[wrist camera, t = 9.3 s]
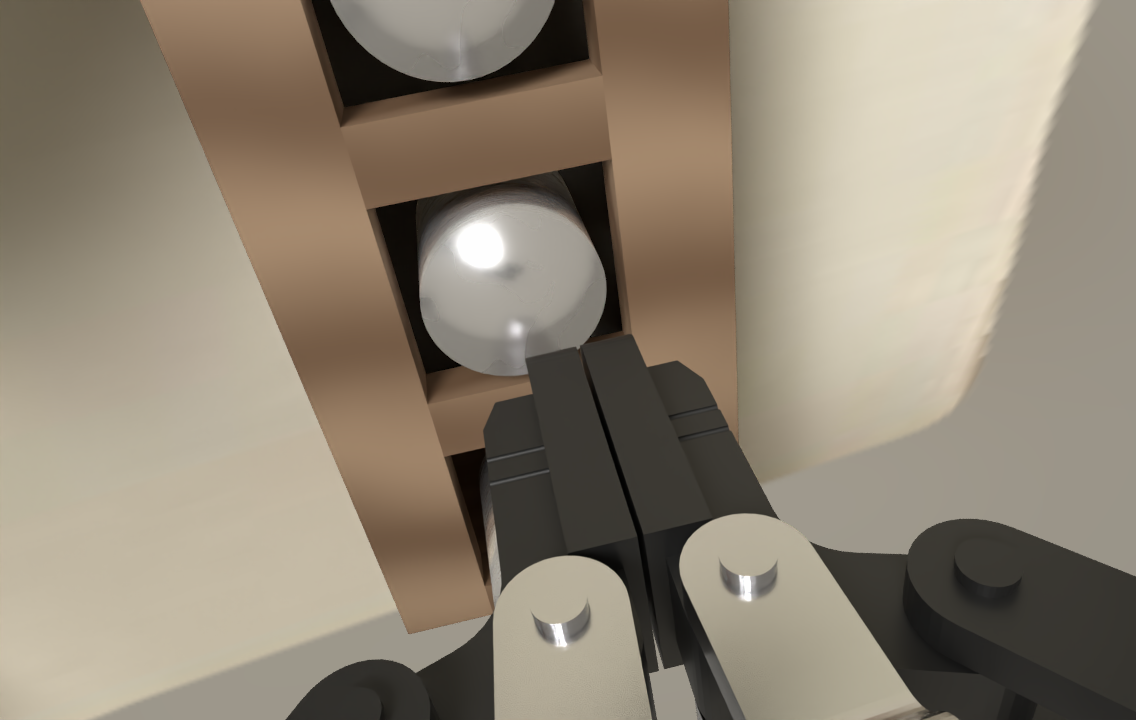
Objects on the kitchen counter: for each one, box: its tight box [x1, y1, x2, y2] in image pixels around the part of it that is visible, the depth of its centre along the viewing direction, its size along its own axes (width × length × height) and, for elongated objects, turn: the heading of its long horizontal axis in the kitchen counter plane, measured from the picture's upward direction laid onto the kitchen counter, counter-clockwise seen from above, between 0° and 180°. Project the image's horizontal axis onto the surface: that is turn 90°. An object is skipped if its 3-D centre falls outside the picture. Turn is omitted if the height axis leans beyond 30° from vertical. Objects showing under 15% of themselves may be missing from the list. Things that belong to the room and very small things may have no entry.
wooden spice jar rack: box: [140, 0, 739, 634], centre depth 24 cm, size 25×12×8 cm, turn 8°
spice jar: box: [416, 171, 606, 376], centre depth 23 cm, size 5×5×5 cm
